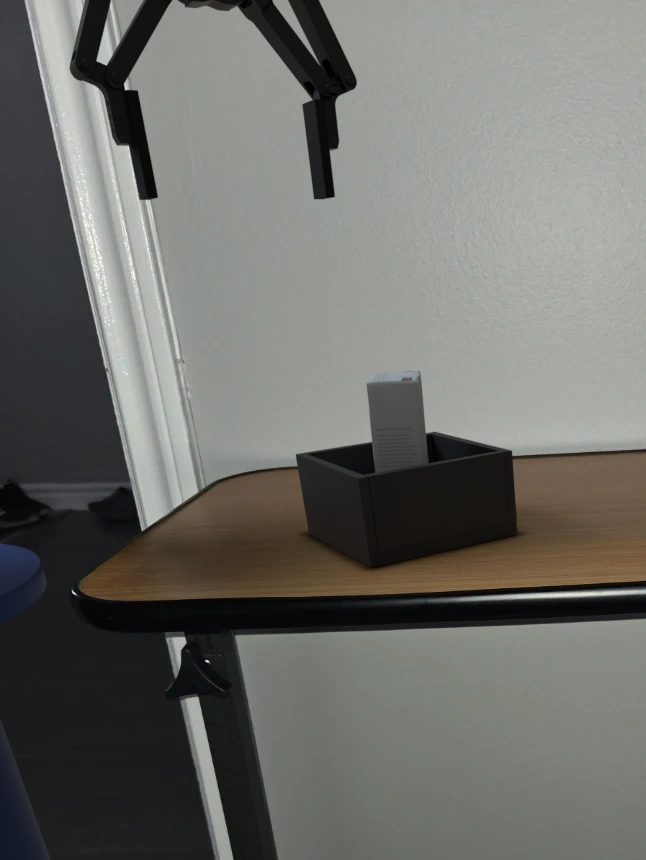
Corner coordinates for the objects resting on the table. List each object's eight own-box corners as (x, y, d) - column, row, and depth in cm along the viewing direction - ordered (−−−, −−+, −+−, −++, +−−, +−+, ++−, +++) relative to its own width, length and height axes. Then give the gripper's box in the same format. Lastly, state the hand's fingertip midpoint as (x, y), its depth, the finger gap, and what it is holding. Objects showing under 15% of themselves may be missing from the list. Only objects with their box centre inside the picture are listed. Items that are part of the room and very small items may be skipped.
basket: (371, 568, 72) (358, 478, 69) (308, 533, 83) (295, 454, 80) (517, 534, 79) (512, 450, 76) (443, 506, 89) (435, 431, 86)
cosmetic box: (385, 515, 83) (367, 372, 77) (435, 512, 83) (420, 369, 78) (380, 534, 77) (360, 381, 72) (434, 530, 78) (418, 377, 72)
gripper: (-23, -231, 53) (73, 195, 62) (379, -154, 65) (408, 195, 74) (-32, -181, 59) (57, 202, 68) (339, -119, 70) (370, 200, 80)
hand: (240, 199), depth 71 cm, fingers open, 13 cm apart
